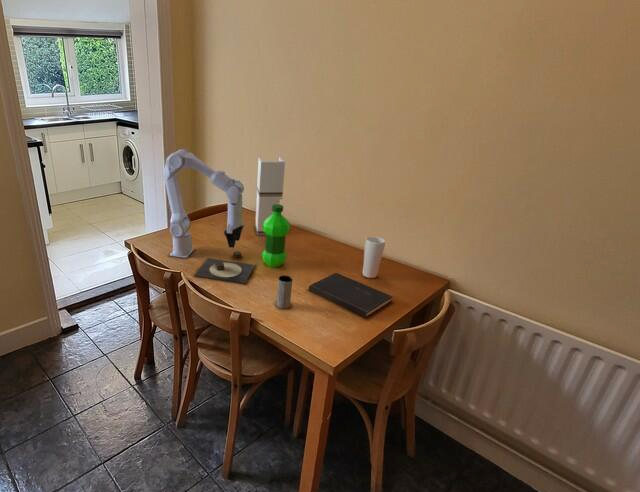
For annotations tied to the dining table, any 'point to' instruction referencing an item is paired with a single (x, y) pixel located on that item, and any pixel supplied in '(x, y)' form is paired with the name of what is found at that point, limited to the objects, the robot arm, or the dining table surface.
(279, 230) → the plastic bottle
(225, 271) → the board
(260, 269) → the dining table surface
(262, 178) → the white rectangular tower
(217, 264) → the eye left
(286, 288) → the grey metal cylinder
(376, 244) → the drinking glass
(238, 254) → the eye right
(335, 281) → the hardcover book
